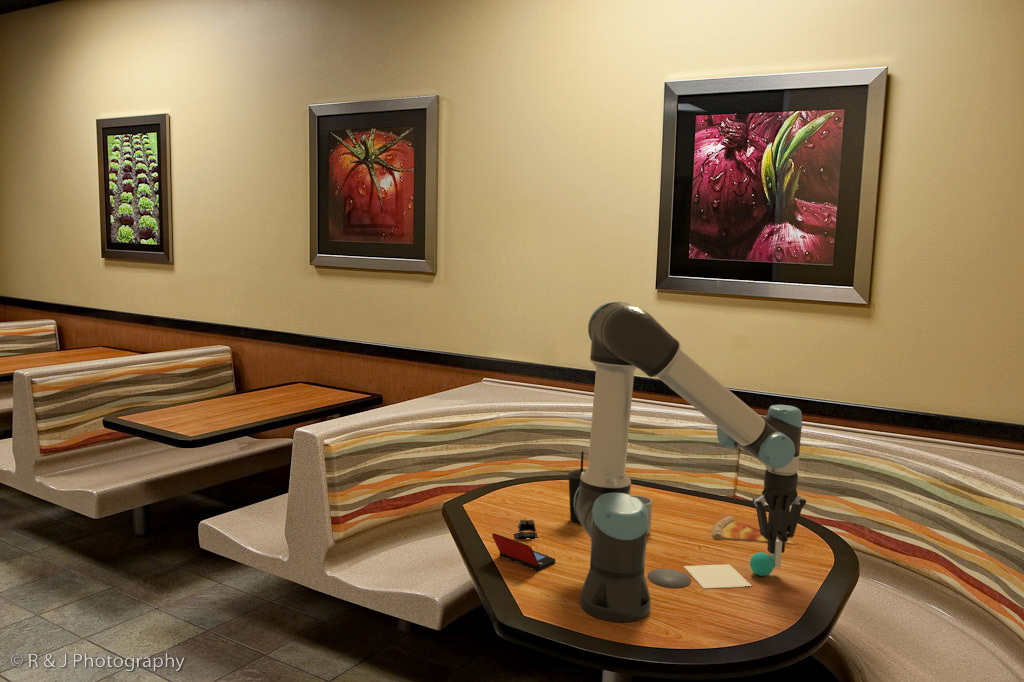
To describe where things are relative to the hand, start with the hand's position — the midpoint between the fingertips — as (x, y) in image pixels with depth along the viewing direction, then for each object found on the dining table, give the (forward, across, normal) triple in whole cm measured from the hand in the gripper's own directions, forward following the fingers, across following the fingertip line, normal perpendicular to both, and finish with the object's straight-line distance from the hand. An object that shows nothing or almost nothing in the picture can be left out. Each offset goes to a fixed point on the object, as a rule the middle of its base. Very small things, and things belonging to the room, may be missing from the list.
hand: (774, 565), depth 187 cm
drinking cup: (+2, +39, -38) cm, 54 cm away
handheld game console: (+2, +59, -12) cm, 61 cm away
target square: (+2, +15, 0) cm, 15 cm away
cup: (+2, +25, -28) cm, 37 cm away
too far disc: (+2, +27, 0) cm, 27 cm away
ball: (0, +3, 0) cm, 3 cm away
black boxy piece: (+2, +56, -28) cm, 62 cm away
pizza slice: (+3, -4, -23) cm, 23 cm away
